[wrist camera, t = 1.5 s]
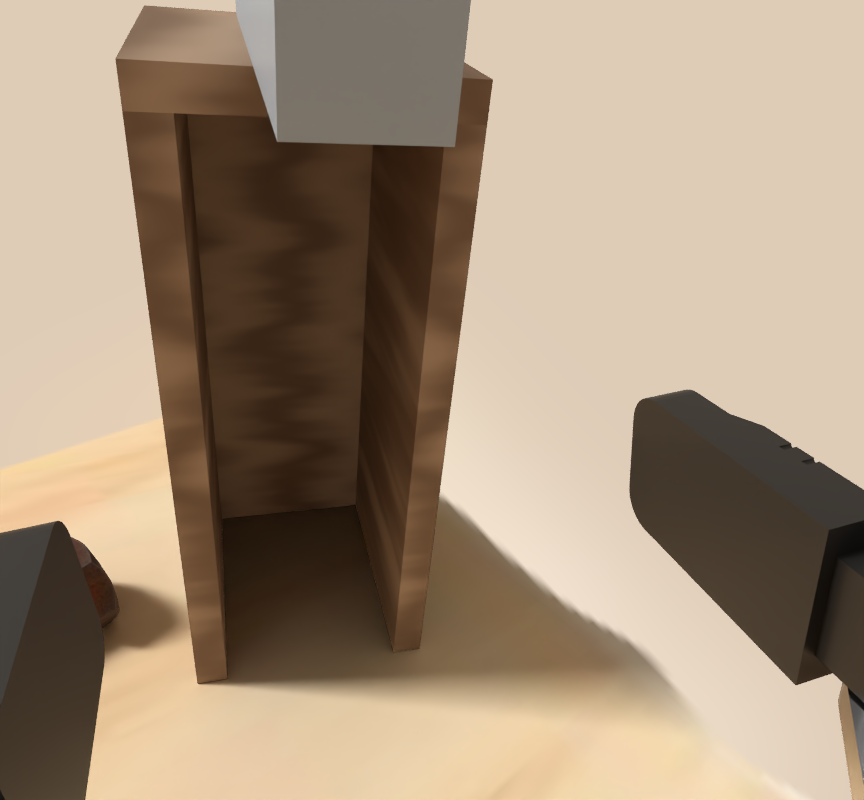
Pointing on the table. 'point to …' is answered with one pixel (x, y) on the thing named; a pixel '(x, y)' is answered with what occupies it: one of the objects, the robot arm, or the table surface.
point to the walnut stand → (294, 311)
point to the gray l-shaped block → (359, 68)
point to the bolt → (97, 584)
